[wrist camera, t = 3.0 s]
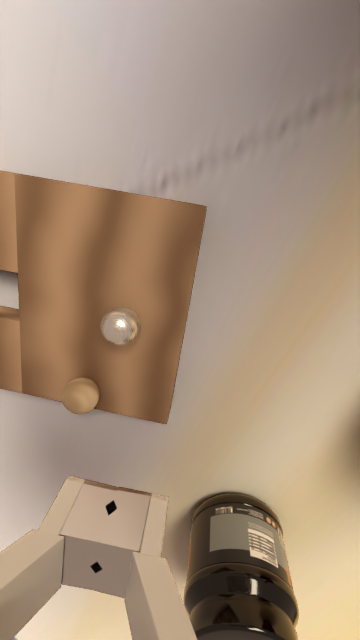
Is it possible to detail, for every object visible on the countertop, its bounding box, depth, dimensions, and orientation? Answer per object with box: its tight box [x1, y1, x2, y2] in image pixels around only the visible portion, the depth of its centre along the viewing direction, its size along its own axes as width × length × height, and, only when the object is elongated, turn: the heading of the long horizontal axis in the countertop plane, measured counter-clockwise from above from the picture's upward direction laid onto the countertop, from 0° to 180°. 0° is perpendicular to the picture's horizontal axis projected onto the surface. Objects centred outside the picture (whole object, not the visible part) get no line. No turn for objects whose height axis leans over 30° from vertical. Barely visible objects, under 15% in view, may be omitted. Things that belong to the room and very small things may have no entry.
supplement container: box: [184, 494, 299, 640], centre depth 30 cm, size 10×10×12 cm
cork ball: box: [62, 377, 100, 414], centre depth 27 cm, size 3×3×3 cm
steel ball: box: [100, 306, 141, 346], centre depth 24 cm, size 3×3×3 cm
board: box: [0, 171, 207, 424], centre depth 26 cm, size 24×20×4 cm
